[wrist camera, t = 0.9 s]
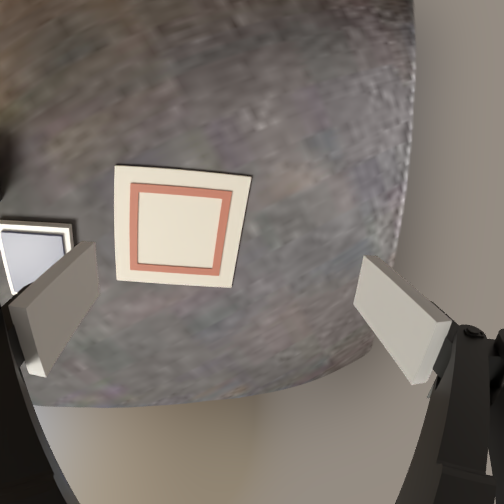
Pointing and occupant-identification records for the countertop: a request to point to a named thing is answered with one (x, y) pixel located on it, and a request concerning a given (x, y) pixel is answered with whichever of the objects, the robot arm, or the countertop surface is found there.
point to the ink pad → (32, 249)
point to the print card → (178, 225)
